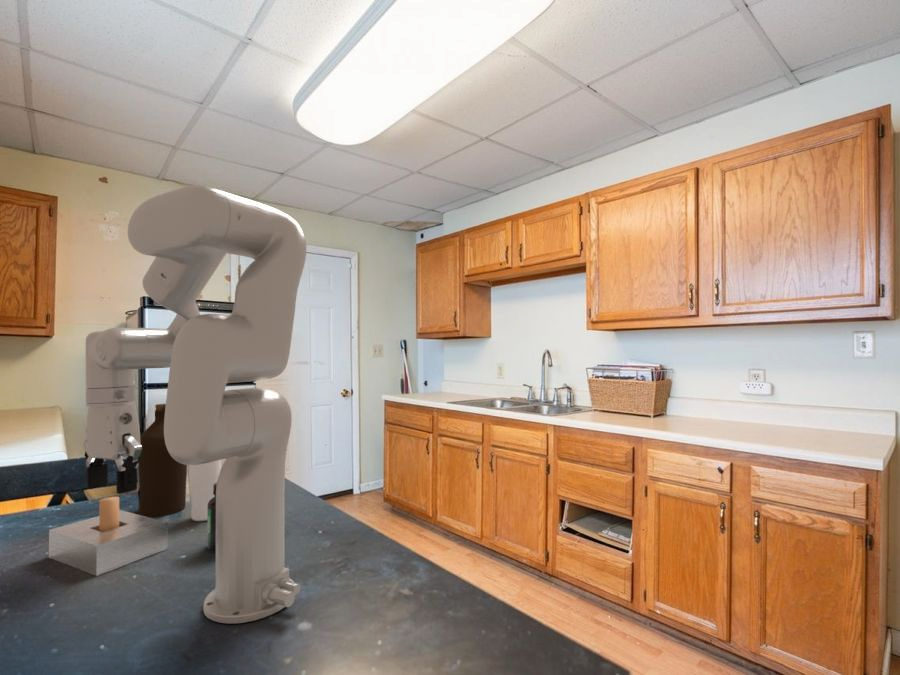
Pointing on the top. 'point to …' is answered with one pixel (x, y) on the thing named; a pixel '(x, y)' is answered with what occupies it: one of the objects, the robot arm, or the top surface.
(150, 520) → the hole block
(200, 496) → the drinking glass
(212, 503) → the supplement bottle
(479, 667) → the top surface
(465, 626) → the top surface
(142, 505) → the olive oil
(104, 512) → the peg
